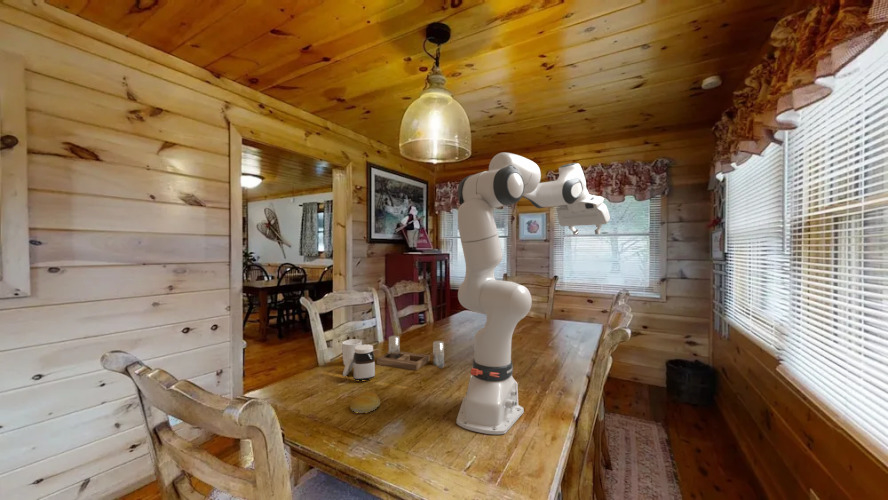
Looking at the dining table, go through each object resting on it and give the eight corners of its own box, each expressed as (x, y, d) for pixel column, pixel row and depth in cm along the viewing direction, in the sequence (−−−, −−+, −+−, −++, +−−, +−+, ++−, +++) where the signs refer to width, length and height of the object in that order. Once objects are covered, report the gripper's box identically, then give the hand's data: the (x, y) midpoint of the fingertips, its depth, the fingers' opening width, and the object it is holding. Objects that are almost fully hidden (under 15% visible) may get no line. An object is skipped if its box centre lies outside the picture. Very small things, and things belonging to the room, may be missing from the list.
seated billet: (396, 363, 138) (396, 339, 138) (386, 361, 140) (386, 337, 140) (401, 359, 142) (401, 336, 142) (392, 358, 144) (392, 335, 144)
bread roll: (344, 412, 101) (344, 399, 101) (362, 399, 109) (362, 387, 109) (368, 417, 97) (367, 403, 97) (384, 404, 106) (384, 391, 106)
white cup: (342, 364, 141) (341, 340, 141) (361, 362, 143) (361, 338, 143) (342, 370, 133) (342, 345, 133) (362, 368, 136) (362, 343, 136)
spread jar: (376, 381, 123) (376, 349, 123) (344, 386, 119) (344, 353, 118) (371, 370, 134) (371, 341, 134) (341, 374, 130) (341, 344, 130)
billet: (441, 369, 135) (441, 344, 135) (431, 367, 136) (431, 343, 136) (445, 365, 139) (445, 341, 139) (435, 364, 141) (435, 340, 140)
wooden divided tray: (416, 373, 130) (416, 364, 130) (376, 367, 137) (376, 358, 137) (429, 363, 141) (429, 355, 141) (392, 357, 148) (392, 350, 148)
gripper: (551, 208, 140) (560, 237, 144) (600, 203, 124) (608, 237, 128) (559, 202, 143) (567, 231, 147) (607, 196, 127) (615, 229, 131)
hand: (586, 234), depth 138 cm, fingers open, 8 cm apart
